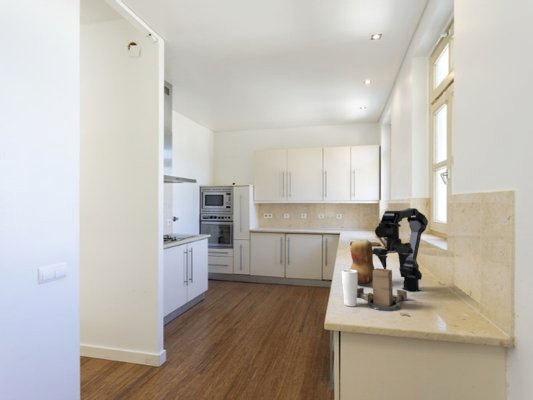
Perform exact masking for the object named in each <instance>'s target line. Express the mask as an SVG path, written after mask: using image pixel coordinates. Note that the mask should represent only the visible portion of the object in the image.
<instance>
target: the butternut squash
mask: <svg viewBox="0 0 533 400" xmlns="http://www.w3.org/2000/svg"><path fill="white" fill-rule="evenodd" d="M350 255H351V259H352V263H351V265H350V270H356V271H357V274H358V284H357V285H359V286H368V285H371V284H373V270H375V269H376V268H375V266H374V259H373V258H374V254H373V244H372V243H371V241H370V240H368V239H358V240H357V239H356V240H354V241H353V242H352V243H351V246H350Z"/></svg>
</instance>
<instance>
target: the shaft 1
mask: <svg viewBox="0 0 533 400" xmlns="http://www.w3.org/2000/svg"><path fill="white" fill-rule="evenodd" d="M364 289H365V288H364V287H357V298H361V299H364V301H365V302H367V303H368V299H371V298H373V292H368V293H365V290H364Z"/></svg>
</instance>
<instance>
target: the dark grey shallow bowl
mask: <svg viewBox="0 0 533 400" xmlns="http://www.w3.org/2000/svg"><path fill="white" fill-rule="evenodd" d="M366 306H367V307H369V309H373V310H376V311H382V312H394V311H398V310H400V302H399V303H398V302H397V301H395V300H393V305H392V306H380V305H375V304H373V298H371V299H368V302H367V303H366Z"/></svg>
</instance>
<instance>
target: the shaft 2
mask: <svg viewBox="0 0 533 400" xmlns="http://www.w3.org/2000/svg"><path fill="white" fill-rule="evenodd" d="M393 300H395V301H397V302H398V303H399V304H400V301H404V302H406V301H408V292H407V290H403V289H402V290H401V289H397V290H396V294H393Z"/></svg>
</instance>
